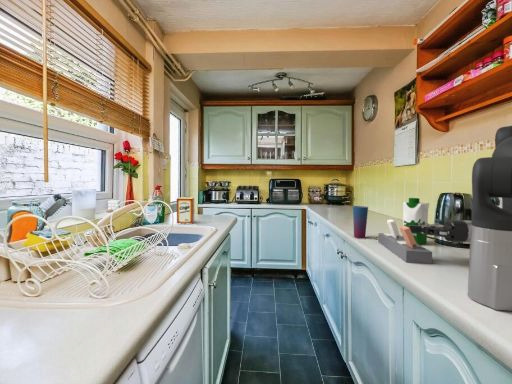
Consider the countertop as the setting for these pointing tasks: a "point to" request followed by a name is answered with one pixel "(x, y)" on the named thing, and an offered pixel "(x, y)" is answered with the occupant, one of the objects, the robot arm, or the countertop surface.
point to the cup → (360, 221)
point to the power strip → (405, 249)
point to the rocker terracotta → (408, 236)
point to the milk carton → (416, 217)
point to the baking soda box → (185, 210)
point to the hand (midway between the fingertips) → (408, 228)
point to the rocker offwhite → (393, 228)
